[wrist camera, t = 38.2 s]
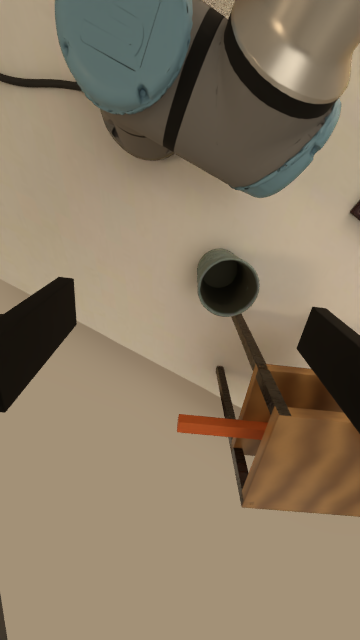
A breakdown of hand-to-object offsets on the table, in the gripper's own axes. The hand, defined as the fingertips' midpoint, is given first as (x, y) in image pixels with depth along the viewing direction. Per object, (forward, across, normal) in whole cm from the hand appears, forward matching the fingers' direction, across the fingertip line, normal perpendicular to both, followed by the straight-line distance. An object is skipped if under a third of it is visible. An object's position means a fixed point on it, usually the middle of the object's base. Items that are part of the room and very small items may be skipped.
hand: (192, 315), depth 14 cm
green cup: (+39, +8, -7) cm, 40 cm away
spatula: (+16, +16, -26) cm, 34 cm away
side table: (+39, +22, -24) cm, 50 cm away
